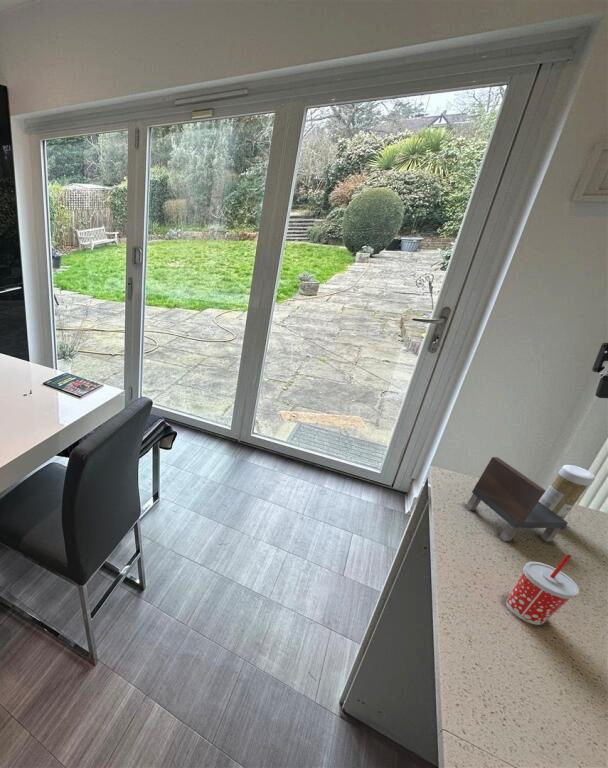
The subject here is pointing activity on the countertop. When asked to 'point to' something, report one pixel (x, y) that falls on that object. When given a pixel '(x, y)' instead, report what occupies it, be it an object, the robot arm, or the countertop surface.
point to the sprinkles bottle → (566, 489)
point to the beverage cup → (541, 592)
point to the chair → (514, 500)
